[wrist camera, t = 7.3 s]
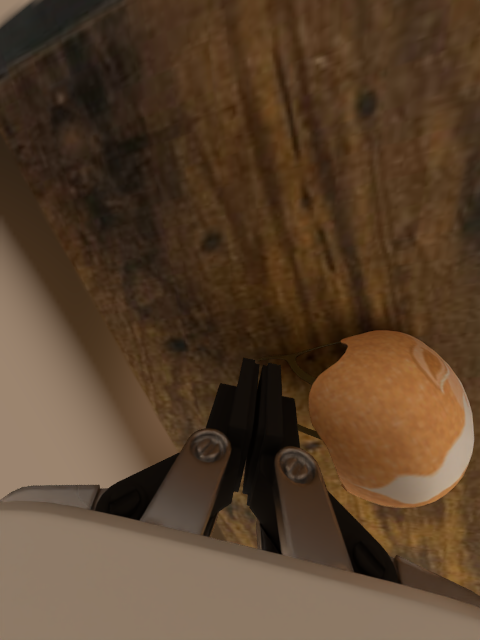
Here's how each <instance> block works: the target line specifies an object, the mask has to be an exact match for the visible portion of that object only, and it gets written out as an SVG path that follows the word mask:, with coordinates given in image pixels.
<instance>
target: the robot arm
mask: <svg viewBox="0 0 480 640" xmlns="http://www.w3.org/2000/svg"><path fill="white" fill-rule="evenodd" d="M259 365H260V364H256V363H255V360H253V359H248V358H243V362H242V367H241V371H240V376H239V381H238V385H237V387H236V386H231V385H226V384H222V383H220V385H219V388H218V392H217V395H216V398H215V401H214V404H213V407H212V410H211V413H210V416H209V420H208V423H207V426H206V429H201V430H198V431H196V432H194V433H193V434H192V435H191V436H190V437H189V438H188V440H187V441H186V443H185V445H184V447H183V448H182V450H181V452H179V453H177V454H175V455H173V456H171V457H169V458H167V459H165V460H163V461H161V462H159V463H157V464H155V465H152V466H150V467H148V468H146V469H144V470H142V471H140V472H138V473H136V474H134V475H132V476H130V477H128V478H126V479H124V480H121V481H119V482H117V483H116V484H114V485H112V486H111V487H109V488H107V489H100V486H99V485H46V486H28V487H22V488H20V489H17V490H15V491H13V492H11V493H9V494H8V495H7V496H5V497H4V498H2V499H1V500H0V640H480V596H478V595H477V594H475V593H474V592H472V591H471V590H468V589H466V588H464V587H462V586H460V585H458V584H456V583H454V582H452V581H450V580H448V579H446V578H443V577H441V576H439V575H437V574H435V573H433V572H431V571H429V570H427V569H425V568H423V567H421V566H419V565H416V564H414V563H412V562H410V561H408V560H406V559H404V558H402V557H400V556H398V555H396V557H395V558H393V557H390V556H389V555H388V553H387V552H386V551H385V550H384V549H383V547H382V546H381V545H380V544H379V543H378V542H377V541H376V540H375V539H374V538H373V537H372V536H371V535H370V533H369V532H368V531H367V530H366V529H365V528H364V527H363V526H362V525H361V524H360V523H359V522H358V521H357V520H356V519H355V518H354V517H353V516H352V515H351V514H350V513H349V512H348V511H347V510H346V509H345V508H344V507H343V506H342V505H341V504H340V503H339V502H338V501H337V500H336V499H335V498H334V497H333V496H332V495H331V494H330V493H329V492H328V491H327V488H326V485H325V482H324V479H323V476H322V473H321V470H320V467H319V465H318V463H317V461H316V460H315V459H314V458H313V456H312V455H310V454H309V453H308V452H307V451H305V450H303V449H301V448H300V444H299V435H298V426H297V416H296V407H295V400H294V399H293V398H289V397H284V396H282V384H281V365H277V364H272V363H268V365H267V366H266V365H263V367H262V371H261V375H260V380H259V384H258V375H259ZM257 385H258V389H257ZM246 457H247V458H246ZM245 462H246V466H245ZM244 466H245V475H244V484H243V494H248V498H247V505H248V506H250V507H249V508H250V509H251V510H252V512H253V513H254V515H255V516H256V517H257V521H256V531H257V545H258V549H256V548H252V547H248V546H243V545H239V544H235V543H231V542H227V541H223V540H218V539H214V538H211V536H212V533H213V530H214V527H215V524H216V521H217V518H218V513H219V511H220V510H222V509H223V508H225V507H226V506H228V505H229V504H230V503H231V501H232V497H233V492H234V491H235V492H238V491H239V487H240V483H241V479H242V474H243V470H244Z"/></svg>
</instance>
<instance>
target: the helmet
mask: <svg viewBox="0 0 480 640" xmlns="http://www.w3.org/2000/svg"><path fill="white" fill-rule="evenodd" d="M337 343H342V345H343V346H345V347H348V348H347V350H346V352H345V354H344V355H343V356H342V357H341V358H340V359H339V360H338V362H336V363H335V364H333V365H332V366H331V367H329V368H328V369H327V370H325V371H324V372H323V373H321V374H320V375H319V376H318V377H317V379H316V378H314V377H312V376H310V375H309V374H307V373H306V372H304V371H303V370H302V369H301V368H300V367H299V366H298V365H297V363H296V357H297V356H299V355H301V354H303V353H305V352H308V351H311V350H314V349H318V348H321V347H325V346H329V345H333V344H337ZM265 359H284V360H286V361H287V362H288V363H289V365H290V367H291V369H292V370H293V371H294V372H295V373H296V375H298V376H299V377H300V378H301V379H303V380H304V381H306V382H308V383H309V384H311V385H312V388H311V391H310V394H309V414H310V418H311V422H312V425H313V427H314V428H315V430H316V431H314V430H311V429H308V428H306V427H303V426H301V425H299V424H297V426H298V430H299V431H301V432H303V433H306V434H308V435H311V436H313V437H316V438H319V439H321V440H323V442H324V443H325V445H326V446H327V448H328V451H329V453H330V455H331V458H332V460H333V463H334V465H335V468H336V471H337V473H338V476H339V478H340V480H341V481H342V483H343V484H341V485H342V487H343V488H344V489H345V490H346V491H348V492H349V493H351V494H353V495H356V496H358V497H360V498H363V499H365V500H367V501H370V502H373V503H376V504H379V505H382V506H389V507H397V508H406V507H418V506H423V505H426V504H429V503H431V502H434V501H436V500H438V499H439V498H441V497H442V496H444V495H445V494H447V493H448V492H449V491H450V490H451V489H452V488H453V487H455V486H456V484H457V483H458V482H459V481H460V479H461V478H462V477H463V475H464V473H465V471H466V468H467V466H468V464H469V461H470V458H471V455H472V452H473V445H474V430H473V417H472V411H471V407H470V404H469V401H468V398H467V396H466V393H465V390H464V388H463V386H462V384H461V382H460V380H459V379H458V377H457V376H456V374H455V373H454V372H453V370H452V369H451V367H450V366H449V365H448V364H447V363H446V362H445V361H444V360H443V359H442V358H441V357H440V356H439V355H438V354H437V353H436V352H435V351H434V350H432V349H431V348H429V347H428V346H427V345H426V344H424V343H423V342H422V341H420V340H418V339H416V338H415V337H413V336H411V335H408V334H405V333H402V332H398V331H388V330H376V331H370V332H366V333H363V334H359V335H354V336H351V337H348V338H344V339H342V340H341V341H340V342H335V343H331V344H327V345H323V346H319V347H316V348H313V349H309V350H306V351H303V352H299V353H296V354H291V355H275V356H267V357H263V358H261V359H259V360H258V361H261V360H265Z"/></svg>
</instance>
